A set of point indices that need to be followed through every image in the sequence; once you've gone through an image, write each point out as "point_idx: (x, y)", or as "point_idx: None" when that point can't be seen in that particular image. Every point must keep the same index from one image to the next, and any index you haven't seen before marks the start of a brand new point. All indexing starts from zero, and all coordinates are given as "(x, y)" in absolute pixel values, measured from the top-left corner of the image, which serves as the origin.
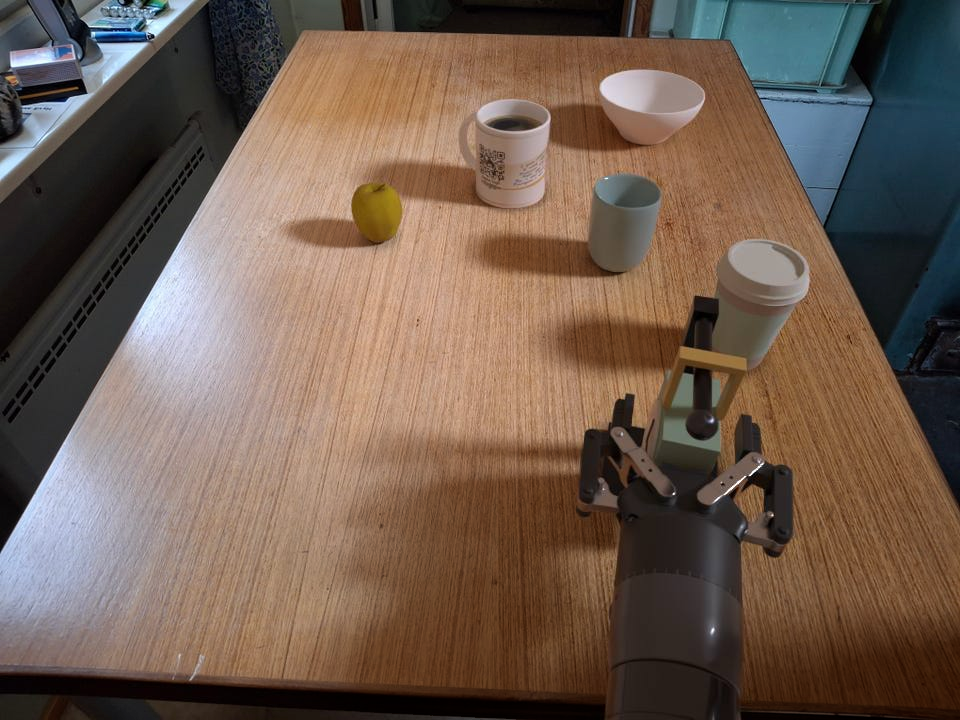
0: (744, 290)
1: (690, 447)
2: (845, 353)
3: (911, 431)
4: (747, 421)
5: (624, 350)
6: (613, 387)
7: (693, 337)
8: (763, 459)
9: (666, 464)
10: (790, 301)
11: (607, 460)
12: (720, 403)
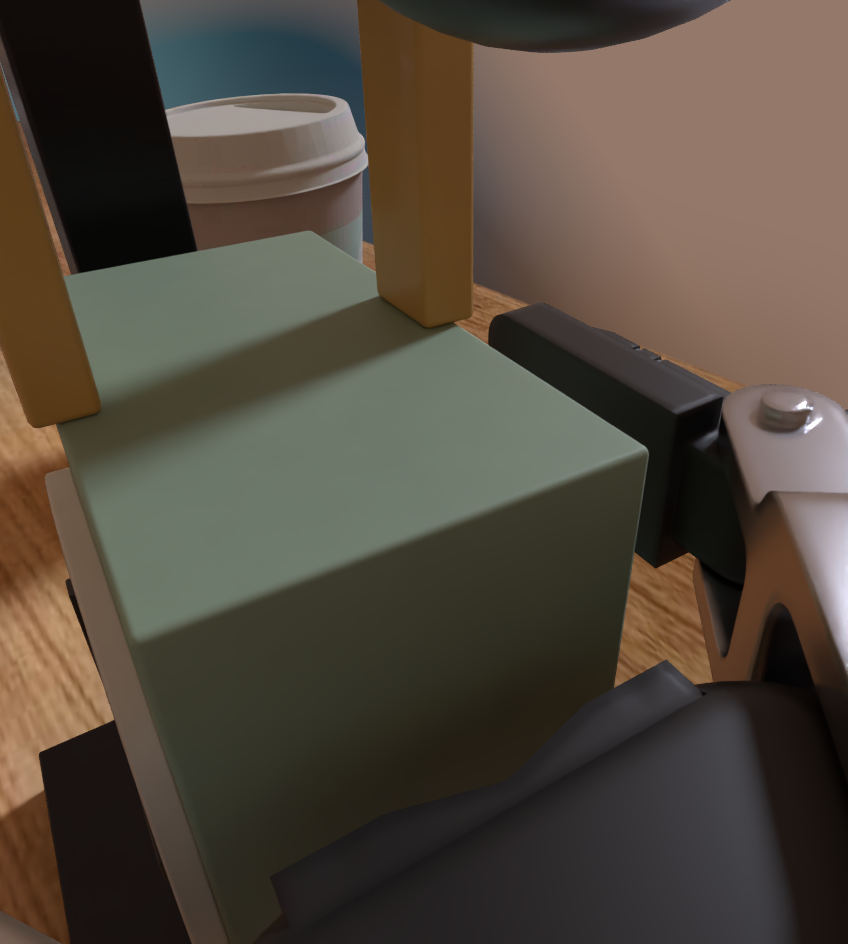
0: (226, 175)
1: (428, 556)
2: (486, 322)
3: (694, 368)
4: (548, 321)
5: (27, 532)
6: (28, 639)
7: (54, 57)
8: (813, 393)
9: (325, 865)
10: (349, 169)
11: (84, 913)
12: (404, 193)
